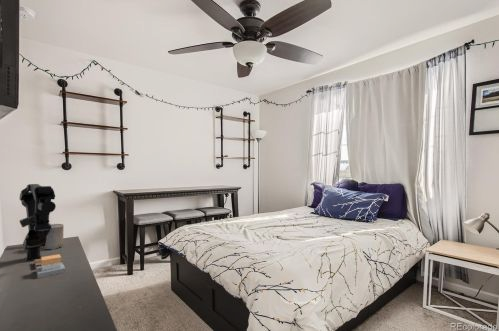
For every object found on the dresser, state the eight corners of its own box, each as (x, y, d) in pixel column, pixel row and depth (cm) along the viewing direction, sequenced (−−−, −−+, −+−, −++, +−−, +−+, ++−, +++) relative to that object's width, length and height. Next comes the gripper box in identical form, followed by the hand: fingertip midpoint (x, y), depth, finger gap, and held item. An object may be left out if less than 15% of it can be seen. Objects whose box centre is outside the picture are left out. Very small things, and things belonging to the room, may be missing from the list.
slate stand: (36, 271, 120) (36, 267, 120) (62, 266, 127) (62, 262, 127) (37, 278, 113) (37, 273, 113) (65, 272, 119) (65, 268, 119)
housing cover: (59, 259, 124) (59, 254, 124) (60, 262, 120) (61, 257, 120) (41, 262, 119) (41, 257, 119) (41, 265, 115) (42, 260, 115)
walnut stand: (34, 263, 129) (34, 259, 129) (58, 259, 136) (58, 255, 136) (35, 269, 122) (35, 265, 122) (61, 264, 129) (61, 260, 129)
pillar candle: (59, 244, 162) (60, 221, 162) (65, 247, 156) (66, 223, 156) (40, 248, 154) (41, 223, 154) (46, 251, 148) (46, 226, 148)
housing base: (59, 264, 124) (59, 259, 124) (60, 267, 120) (60, 262, 120) (40, 267, 119) (40, 262, 119) (41, 271, 115) (41, 265, 115)
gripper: (20, 209, 130) (19, 239, 130) (21, 214, 117) (20, 248, 116) (48, 207, 138) (46, 236, 138) (51, 212, 124) (50, 243, 124)
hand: (41, 240), depth 129 cm, fingers open, 9 cm apart
